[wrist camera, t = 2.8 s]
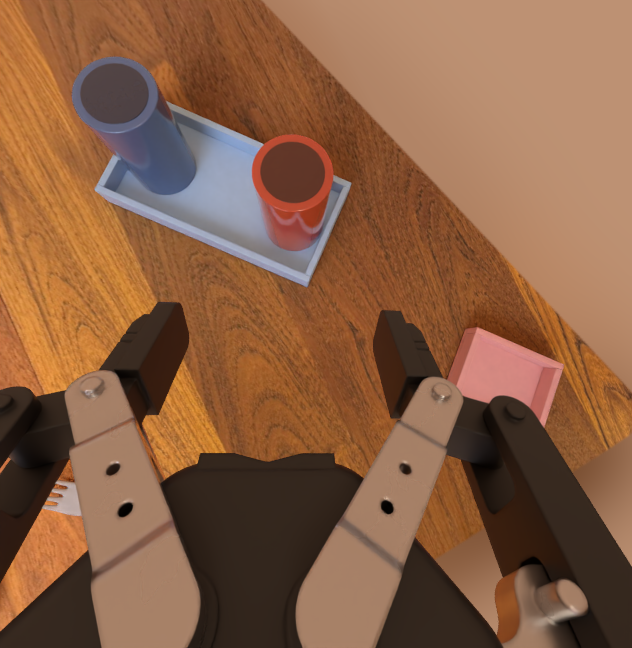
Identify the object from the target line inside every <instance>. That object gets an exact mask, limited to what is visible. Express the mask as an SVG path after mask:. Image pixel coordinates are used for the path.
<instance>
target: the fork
mask: <svg viewBox="0 0 632 648" xmlns="http://www.w3.org/2000/svg"><path fill="white" fill-rule="evenodd" d="M56 484H59V485H64V486H67V487H68V488H67V489H56V488H53V489H52V491H51V492H54V493H59V494H62V495H63V497H50V496H48V498H47V500H48V501H53V502H57V503H58V505H43V507H42V509H48V510H53V511H57V512H61V513H64V514H68V515H74V516H82V515H81V510H80V505H79V500H78V495H77V490H76V485H75V482H69V481H61V480H57V482H56Z"/></svg>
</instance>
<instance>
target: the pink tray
mask: <svg viewBox="0 0 632 648" xmlns="http://www.w3.org/2000/svg"><path fill="white" fill-rule="evenodd" d="M563 367H564V364H561V363H559V362H557V361H555V360H552V359H550V358H548V357H545V356H543V355H541V354H538V353H536V352H534V351H532V350H529V349H527V348H525V347H522V346H520V345H518V344H515V343H513V342H511V341H509V340H506V339H504V338H502V337H499V336H497V335H495V334H492V333H490V332H488V331H486V330H483V329H481V328H479V327H475V328H468V329H465V332H464V334H463V337H462V340H461V343H460V345H459V348H458V351H457V354H456V356H455V359H454V362H453V365H452V367H451V370H450V373H449V376H448V378H447V380H448V381H450V382H451V383H453V384H454V385H455V386H457V388H458V389H459V390H460V391H461V393H462V395H463V396H465V397H468V398H471V399H475V400H479V401H482V402H486V403H490V401H491V400H492V398H494V397H496V396H499V395H505V396H510V397H513V398H516V399H518V400H520V401H521V402H523V403H524V404H526V405H527V406H528V407H529V408H530V409H531V410H532V411H533V412H534V413H535V415H536V416H537V418H538V419H539V421H540V423H541V424H542V426H543V427H544V426H545V423H546V420H547V417H548V414H549V411H550V407H551V404H552V401H553V398H554V395H555V392H556V389H557V386H558V382H559V379H560V376H561V373H562V371H561V370H563Z"/></svg>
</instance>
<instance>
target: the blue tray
mask: <svg viewBox="0 0 632 648" xmlns="http://www.w3.org/2000/svg"><path fill="white" fill-rule="evenodd" d="M166 102H167V101H166ZM167 104H168V106H169V108H170V110H171V112H172V114H173V116H174V118H175V120H176V122H177V124H178V126H179V127H180V129H181V131H182V133H183V135H184V137H185V139H186V141H187V143H188V145H189V147H190V149H191V151H192V153H193V155H194V157H195V160H196V173H195V176H194V179H193V180H192V182H191V183H190V185H189V186H188V187H187V188H185V189H184V190H182V191H180V192H178V193H176V194H171V195H160V194H156V193H153V192H151V191H149V190H147V189H146V188H145V187H143V186H142V185H141V184H140V182H139V181H138V180H137V179H136V178H135V177H134V176H133V175H132V174H131V173H130V172H129V170H128V169H127V168H126V167H125V166H124V165H123V164H122V163H121V162H120V161H119V160H118V159H117V157H116V156H115V155H113V156H112V158H111V160H110V162H109V164H108V166H107V167H106V169H105V171H104V173H103V175H102V176H101V178H100V180H99V182H98V184H97V186H96V187H95V189H94V190H95V191H96V192H97V193H99V194H100V195H101V196H102V197H104V198H105V199H106V200H107V201H109V202H111V203H113V204H116V205H118V206H120V207H123V208H125V209H127V210H130V211H132V212H134V213H137V214H139V215H141V216H143V217H146V218H148V219H150V220H153V221H155V222H157V223H160V224H162V225H164V226H167V227H169V228H171V229H174V230H176V231H178V232H180V233H183V234H185V235H187V236H190V237H192V238H194V239H197V240H199V241H201V242H204V243H206V244H208V245H211V246H213V247H215V248H218V249H220V250H222V251H224V252H227V253H229V254H231V255H234V256H236V257H238V258H241V259H243V260H245V261H248V262H250V263H252V264H255V265H257V266H259V267H262V268H264V269H266V270H268V271H271V272H273V273H275V274H278V275H280V276H282V277H285V278H287V279H289V280H292V281H294V282H296V283H299V284H301V285H303V286H305V287H308V285H309V283H310V281H311V278H312V276H313V274H314V271H315V269H316V267H317V265H318V262H319V260H320V258H321V255H322V253H323V251H324V248H325V246H326V244H327V242H328V239H329V237H330V235H331V232H332V230H333V228H334V226H335V223H336V221H337V219H338V216H339V214H340V212H341V210H342V207H343V205H344V203H345V200H346V198H347V196H348V193H349V190H350V187H351V183H350V182H348V181H346V180H343V179H341V178H339V177H337V176H334V177H333V184H332V188H331V193H330V198H329V202H328V207H327V212H326V216H325V221H324V226H323V230H322V233H321V235H320V237H319V239H318V240H317V241H316V242H315V244H313V245H312V246H311V247H309V248H307V249H304V250H301V251H288V250H284V249H282V248H280V247H278V246H276V245H275V244H274V243H273V242H272V241H271V240H270V239H269V237H268V236H267V234H266V231H265V228H264V224H263V220H262V216H261V212H260V208H259V204H258V200H257V196H256V192H255V188H254V184H253V180H252V164H253V161H254V158H255V156H256V154H257V152H258V151H259V150H260V148H261V147H262V146H263V145H264V144H262V143H260V142H258V141H255V140H253V139H251V138H248V137H246V136H244V135H242V134H239V133H237V132H235V131H233V130H230V129H228V128H226V127H224V126H221V125H219V124H217V123H215V122H212V121H210V120H208V119H205V118H203V117H201V116H199V115H196V114H194V113H192V112H190V111H187V110H185V109H183V108H181V107H178V106H176V105H174V104H172V103H169V102H167Z"/></svg>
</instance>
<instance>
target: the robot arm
mask: <svg viewBox="0 0 632 648" xmlns="http://www.w3.org/2000/svg"><path fill="white" fill-rule="evenodd" d="M188 344H189V331H188V328H187V324H186V320H185V316H184V312H183V308H182V305H181V304H180V303H176V302H158V303H157V304H156V306H155V307H154V309H153V310H152V312H151V313H150V314H144V315H142V316H141V317H140V318H138V319H137V320H135V321H134V322H133V323H132V324H131V325H130V327H129V328H128V330H127V331H126V334H124V335H123V337H122V338H121V340H120V342H118V344H117V345H116V347H115V348H114V349H113V351H112V352H111V354H110V355H109V356H108V358H107V359H106V361H105V362H104V364H103V365H102V366H101V368H100V369H99V371H94V372H90V373H87V374H85V375H83V376H81V377H79V378H78V379H76V380H75V381H74V382H72V383H71V384H70V385H69V387H68V388H67V390H65V391H60V392H55V393H51V394H46V395H41V396H37V397H36V396H35V395H34V394H33V392H32V391H31V390H30V389H28V388H26V387H10V388H6V389H2V390H0V468H1V466H2V465H3V464H4V462H5V461H6V459H7V458H8V457H9V458H10V459H11V460H10V461H9V463H8V464H7V465H6V467H5V468H4V470H3V471H2V473H1V474H0V583H1V581H2V579H3V577H4V576H5V574H6V572H7V570H8V568H9V567H10V565H11V563H12V561H13V559H14V558H15V556H16V554H17V552H18V550H19V549H20V547H21V545H22V543H23V541H24V540H25V538H26V536H27V534H28V532H29V531H30V529H31V527H32V525H33V523H34V522H35V520H36V518H37V516H38V514H39V513H40V511H41V509H42V507H43V505H44V504H45V502H46V500H47V498H48V496H49V495H50V493H51V491H52V489H53V487H54V486H55V484H56V482H57V480H58V478H59V477H60V475H61V473H62V471H63V469H64V468H65V466H66V464H67V462H68V460H69V459H70V460H71V465H72V470H73V475H74V480H75V485H76V490H77V495H78V500H79V505H80V510H81V515H82V520H83V525H84V530H85V535H86V540H87V545H88V551H87V552H85V553H84V554H83V555H82V556H81V557H80V558H79V559H78V560H77V561H76V562H75V563H74V564H73V565H71V566H70V567H69V568H68V569H67V570H66V571H65V572H64V573H63V574H62V575H61V576H60V577H59V578H57V579H56V580H55V581H54V582H53V583H52V584H51V585H50V586H49V587H48V588H47V589H46V590H45V591H43V592H42V593H41V594H40V595H39V596H38V597H37V598H36V599H35V600H34V601H33V602H32V603H31V604H30V605H28V606H27V607H26V608H25V609H24V610H23V611H22V612H21V613H20V614H19V615H18V616H17V617H16V618H14V619H13V620H12V621H11V622H10V623H9V624H8V625H7V626H6V627H5V628H4V629H3V630H2V631H0V648H632V566H631V565H630V563H629V562H628V560H627V558H626V557H625V555H624V554H623V552H622V551H621V549H620V548H619V546H618V544H617V543H616V541H615V540H614V538H613V537H612V535H611V533H610V532H609V530H608V528H607V527H606V525H605V524H604V522H603V521H602V519H601V517H600V516H599V514H598V513H597V511H596V509H595V508H594V507H593V505H592V503H591V502H590V500H589V498H588V497H587V495H586V494H585V492H584V491H583V489H582V488H581V486H580V484H579V483H578V481H577V479H576V478H575V476H574V475H573V473H572V472H571V470H570V468H569V467H568V465H567V464H566V462H565V460H564V459H563V457H562V456H561V454H560V453H559V451H558V449H557V448H556V446H555V445H554V443H553V441H552V440H551V438H550V437H549V435H548V434H547V432H546V430H545V429H544V427H543V426H542V424H541V423H540V421H539V419H538V418H537V416H536V415H535V413H534V412H533V411H532V410H531V409H530V408H529V407H528V406H527V405H526V404H524V403H523V402H521V401H520V400H518V399H516V398H513V397H510V396H505V395H499V396H496V397H494V398H492V400H491V401H490V403H486V402H482V401H479V400H475V399H471V398H468V397H465V396H463V395H462V393H461V391H460V390H459V389H458V388H457V386H455V385H454V384H453V383H451V382H450V381H448V380H446V379H443V377H442V375H441V373H440V370H439V368H438V366H437V364H436V362H435V360H434V358H433V356H432V354H431V351H429V347H428V345H427V343H426V341H425V339H424V337H423V335H422V332H421V331H420V330H419V329H418V328H417V327H416V326H415V325H414V324H412V323H406V322H405V320H404V317H403V315H402V313H401V311H388V310H382V311H381V312H380V315H379V319H378V323H377V327H376V331H375V335H374V340H373V352H374V356H375V360H376V364H377V368H378V371H379V375H380V379H381V383H382V387H383V391H384V394H385V398H386V402H387V406H388V410H389V414H390V417H391V418H401V419H400V420H398V421H397V422H396V424H395V426H394V427H393V429H392V431H391V433H390V434H389V436H388V438H387V440H386V441H385V443H384V445H383V447H382V448H381V450H380V452H379V454H378V455H377V457H376V459H375V461H374V462H373V464H372V466H371V467H370V469H369V471H368V473H367V474H366V476H365V478H363V477H361V476H360V475H359V474H357V473H356V472H354V471H352V470H351V469H349V468H347V467H344V466H342V465H339V464H335V457H334V453H302V454H298V455H294V456H290V457H286V458H282V459H278V460H274V461H270V462H265V461H261V460H257V459H254V458H250V457H246V456H242V455H239V454H235V453H200V457H199V460H198V464H195V465H192V466H189V467H187V468H184V469H182V470H180V471H178V472H176V473H174V474H173V475H171V476H169V477H168V478H167V479H166V478H165V476H164V474H163V472H162V469H161V467H160V465H159V463H158V460H157V458H156V455H155V453H154V451H153V448H152V446H151V443H150V441H149V439H148V436H147V434H146V431H145V429H144V427H143V425H142V422H143V420H144V418H145V416H146V415H159V412H160V410H161V408H162V405H163V403H164V401H165V398H166V396H167V394H168V392H169V389H170V387H171V385H172V382H173V380H174V378H175V376H176V373H177V371H178V369H179V366H180V364H181V362H182V359H183V357H184V355H185V353H186V350H187V348H188ZM446 455H449V456H452V457H455V458H458V459H461V462H462V464H463V467H464V470H465V473H466V476H467V478H468V481H469V484H470V487H471V490H472V492H473V495H474V498H475V501H476V504H477V506H478V509H479V512H480V515H481V518H482V520H483V523H484V526H485V529H486V532H487V534H488V537H489V540H490V543H491V545H492V548H493V551H494V554H495V557H496V560H497V562H498V565H499V568H500V571H501V573H502V576H503V578H502V579H501V580H500V581H499V582H498V584H497V586H496V589H495V603H496V608H497V613H498V620H499V625H498V632H497V635H496V634H495V632H494V631H493V629H492V628H491V627H490V625H489V624H488V623H487V621H486V620H485V619H484V618H483V617H482V615H481V614H480V613H479V612H478V611H477V609H476V608H475V607H474V606H473V605H472V604H471V602H470V601H469V600H468V599H467V598H466V597H465V595H464V594H463V593H462V592H461V591H460V589H459V588H458V587H457V586H456V585H455V584H454V583H453V581H452V580H451V579H450V578H449V577H448V575H447V574H446V573H445V572H444V571H443V570H442V568H441V567H440V566H439V565H438V564H437V563H436V561H435V560H434V559H433V558H432V557H431V555H430V554H429V553H428V552H427V551H426V550H425V548H424V547H423V546H422V545H421V544H420V542H419V541H418V540H417V539H416V538H415V535H416V532H417V530H418V527H419V524H420V522H421V519H422V517H423V514H424V511H425V509H426V506H427V503H428V501H429V498H430V495H431V493H432V490H433V488H434V485H435V482H436V480H437V477H438V474H439V472H440V469H441V466H442V464H443V461H444V459H445V456H446Z"/></svg>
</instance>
